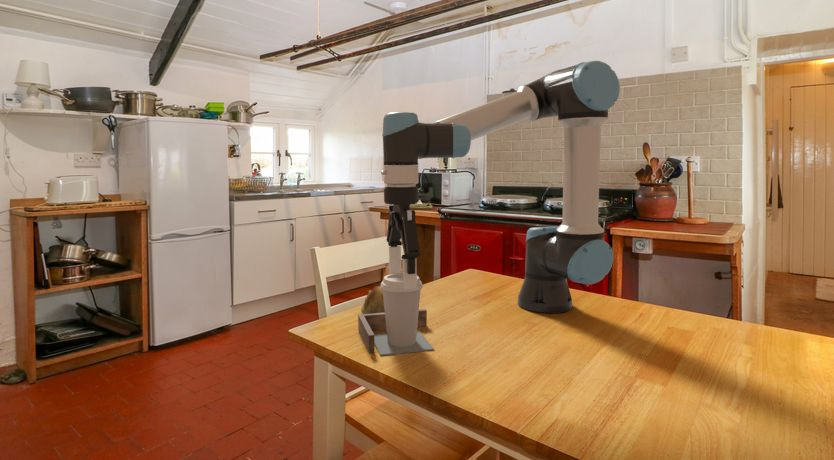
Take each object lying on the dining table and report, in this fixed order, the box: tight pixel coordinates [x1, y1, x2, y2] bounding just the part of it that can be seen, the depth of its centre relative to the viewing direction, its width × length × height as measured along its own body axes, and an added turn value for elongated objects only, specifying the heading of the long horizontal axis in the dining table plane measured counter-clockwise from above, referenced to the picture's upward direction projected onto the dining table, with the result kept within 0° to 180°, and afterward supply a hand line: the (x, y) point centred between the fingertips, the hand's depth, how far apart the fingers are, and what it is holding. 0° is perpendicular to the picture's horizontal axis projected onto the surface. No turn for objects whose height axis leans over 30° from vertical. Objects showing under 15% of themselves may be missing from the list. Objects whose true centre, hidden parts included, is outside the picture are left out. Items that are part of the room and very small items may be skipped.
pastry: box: [360, 285, 385, 314], centre depth 129 cm, size 14×12×8 cm
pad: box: [374, 329, 435, 357], centre depth 108 cm, size 12×12×1 cm
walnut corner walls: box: [357, 308, 428, 354], centre depth 111 cm, size 17×15×4 cm
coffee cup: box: [379, 272, 424, 347], centre depth 107 cm, size 10×10×15 cm
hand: (402, 280), depth 106 cm, fingers open, 13 cm apart
